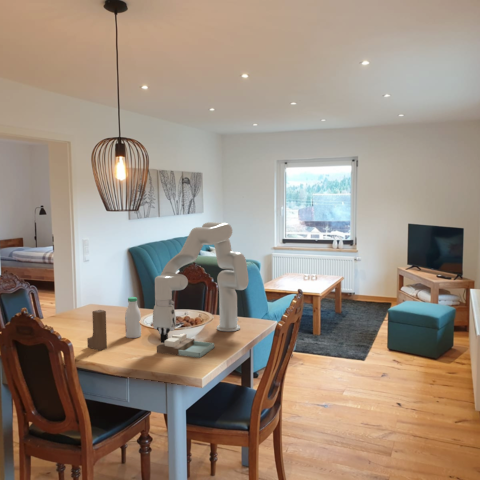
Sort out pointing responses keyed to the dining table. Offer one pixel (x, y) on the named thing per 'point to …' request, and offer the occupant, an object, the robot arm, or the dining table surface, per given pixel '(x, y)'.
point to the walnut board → (174, 350)
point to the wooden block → (98, 331)
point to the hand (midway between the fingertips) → (164, 341)
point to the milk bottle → (132, 319)
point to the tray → (197, 349)
